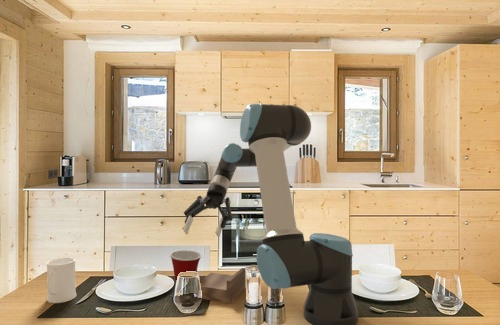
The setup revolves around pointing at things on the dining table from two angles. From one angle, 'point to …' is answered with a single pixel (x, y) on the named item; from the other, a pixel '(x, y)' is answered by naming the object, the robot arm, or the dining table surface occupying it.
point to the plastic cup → (184, 261)
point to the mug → (61, 280)
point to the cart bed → (223, 286)
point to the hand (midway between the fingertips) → (200, 233)
